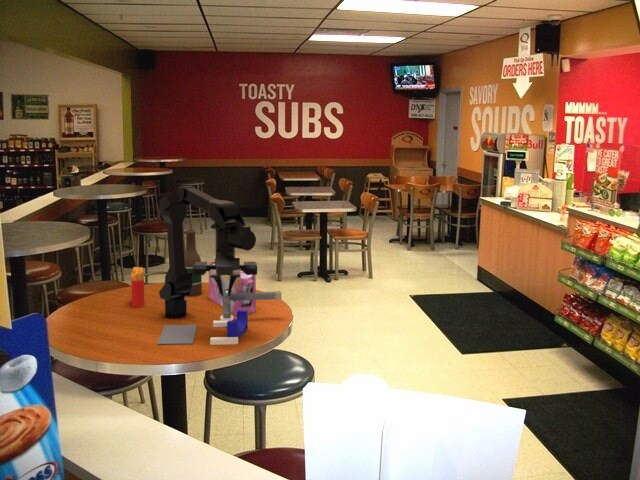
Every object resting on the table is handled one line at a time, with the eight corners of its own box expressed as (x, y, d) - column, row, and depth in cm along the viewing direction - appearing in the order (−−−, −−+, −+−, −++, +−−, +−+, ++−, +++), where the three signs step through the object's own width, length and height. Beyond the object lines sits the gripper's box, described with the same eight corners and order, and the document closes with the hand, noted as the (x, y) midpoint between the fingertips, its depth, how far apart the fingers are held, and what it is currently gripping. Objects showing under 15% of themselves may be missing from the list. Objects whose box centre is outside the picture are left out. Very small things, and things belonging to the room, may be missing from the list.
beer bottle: (177, 295, 222) (176, 231, 217) (185, 290, 229) (184, 227, 225) (197, 297, 221) (196, 232, 216) (205, 291, 228) (204, 228, 224)
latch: (281, 316, 198) (281, 290, 196) (223, 318, 195) (222, 292, 193) (280, 314, 200) (280, 288, 199) (223, 315, 197) (222, 289, 196)
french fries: (131, 301, 214) (130, 265, 211) (144, 300, 215) (142, 264, 213) (132, 309, 205) (131, 271, 203) (145, 308, 207) (144, 271, 204)
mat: (157, 345, 174) (157, 343, 174) (164, 326, 189) (164, 325, 189) (192, 344, 175) (192, 343, 175) (197, 325, 191) (197, 324, 190)
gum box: (258, 313, 205) (258, 274, 202) (237, 317, 200) (237, 277, 198) (228, 295, 224) (228, 259, 222) (208, 298, 220) (207, 262, 217)
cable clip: (233, 327, 190) (233, 309, 189) (247, 328, 190) (247, 310, 188) (222, 341, 179) (222, 321, 177) (237, 342, 178) (237, 322, 177)
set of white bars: (210, 344, 175) (210, 339, 175) (214, 318, 198) (214, 314, 198) (238, 344, 176) (238, 339, 176) (239, 318, 199) (239, 313, 199)
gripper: (190, 251, 170) (191, 304, 173) (257, 250, 172) (257, 303, 175) (193, 243, 180) (194, 293, 183) (256, 243, 183) (256, 292, 186)
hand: (225, 296), depth 182 cm, fingers closed
